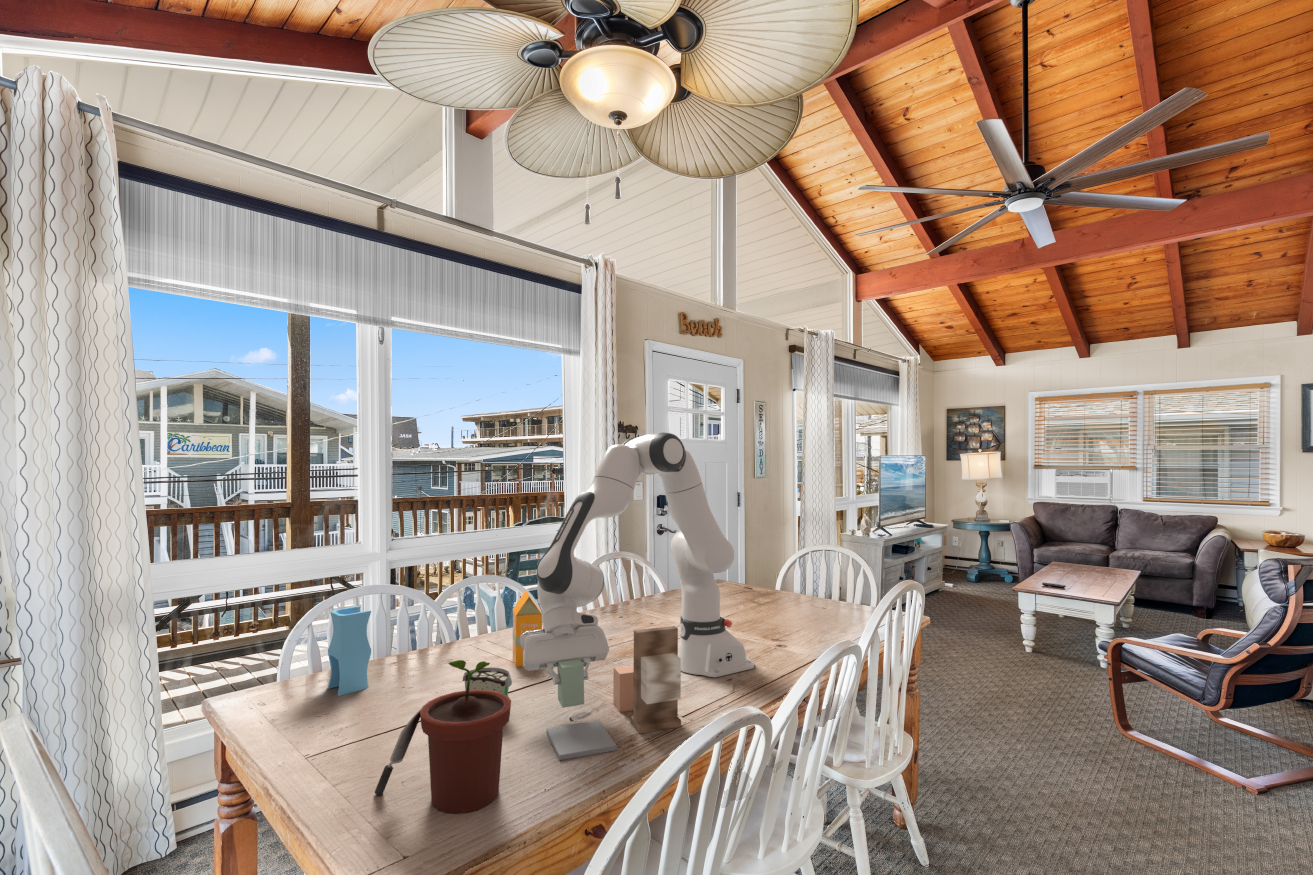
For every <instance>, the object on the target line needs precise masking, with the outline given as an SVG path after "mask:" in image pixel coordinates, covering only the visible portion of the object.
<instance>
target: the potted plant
mask: <svg viewBox="0 0 1313 875" xmlns="http://www.w3.org/2000/svg"><path fill="white" fill-rule="evenodd" d="M466 664H467V662H466V660H463V659H459V660H454V661H450V662H448V665H449V666H451V667H454V668H456V669H459V670H461V671H465V672H467V673H468V680H467V688H466V690H465V689H464V690H461V691H454V692H450V693H447V694H444V695H443V694H442V695H440V696H438V697H435V698H433V699H431V700H429V701H428V702H427V703H425V704H424V705H423V706H421V708H420V709H419V710H418V711H417V712H416V713H415V714H414V715H413V716H412V717H411V719H410V720H409V721H408V723H407V724H406V725H405V726H404V728H403V729H402V730H401V731H400V734H399V737H398V738H397V741H396V744H395V746H394V748H393V751H392V753H391V756H390V758H389V761H390V762H389V764H387V765H385V766H384V768H383V770H382V773H381V775H380V778H379V780H378V782H377V785H376V787H375V790H374V794H375V795H376V796H382V795H383V794H384V792H385V790H386V787H387V785H388V782H389V779H390V778H391V775H392V772H393V770H394V766H393V765H395V764H400V763H402V761H403V760H404V759H405V755H406V753H407V751H408V749H409V747H410V744H411V741H412V739H413V736H414V733H415V731H416V729H417V726H418V724H419V721H420V725H421V730H422V732H423V733H424V734H425V735H427V740H428V741H427V743H428V758H429V759H428V760H429V779H430V781H429V782H430V796H431V804H432V807H433V808H435V809H436V810H437V811H438V812H442V813H444V814H451V815H453V814H454V815H459V814H467V813H468V814H469V813H472V812H475V811H476V812H477V811H479V810H481V809H483V808H486V807H488V806H489V805H490V804H492V803H493V802H494V801H495V800H496V799H497V798H498V796H499V790H500V776H501V766H502V765H501V764H502V751H503V736H504V727H505V726H506V725H507V724H508V723H509V722H510V715H511V708H512V707H511V706H512V699H511V698H510V697H509V695H508V696H507V695H505V694H503V693H500V692H496V691H491V690H469V686H470V677H471V676H472V675H473V673H475V672H477V671H479V670H481V669H482V668H487V667H488V666H489V665H490V664H491V663H490V662H487V661H485V660H484V661H479V662H478V663H477V664H476V666H475V668H474V669H475V670H474V669H473V670H474V671H473V672H472V673H470V669H468V668H465V667H466Z"/></svg>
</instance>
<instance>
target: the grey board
mask: <svg viewBox="0 0 1313 875" xmlns="http://www.w3.org/2000/svg"><path fill="white" fill-rule="evenodd" d="M546 735H547V738H548V739H549V742H550V744H551V746H552V748H553V750H554V752H555V754H556V756H557V758H558V760H559V761H563V760H570V759H576V758H580V757H586V756H591V755H597V754H603V753H608V752H609V753H610V752H613V751H617V744H616V742H615V741H614V740H613V739H612V737H611V735H610V733H609V732H608V731H607V730H606V728H605V726H604V725H603V724H602V723H601V720H599V719H598V720H590V721H586V722H585V721H584V722H580V723H574V724H566V725H560V726H554V727H547V728H546Z"/></svg>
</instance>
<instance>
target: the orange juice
mask: <svg viewBox="0 0 1313 875" xmlns="http://www.w3.org/2000/svg"><path fill="white" fill-rule="evenodd" d="M541 629H543V625H542V610H541V609H540V608H539V606H538V605H537V604H536V602H534V600H533V599H532V597H531V596H530V594H529V592H528V591H527V590H524V592H523V594H522V595H521V597H520V598H519V600H518V601H517V602H516V604H515V606H514V607H513V608H512V660H513V663H514V667H515V668H517V667H518V668H519V667H524V666H523V649H522V648H521V646H520V636H521V635H522V634H524V633H525V632H526V631H535V630H541ZM524 636H525V635H524Z"/></svg>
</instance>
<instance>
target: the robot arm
mask: <svg viewBox="0 0 1313 875" xmlns="http://www.w3.org/2000/svg"><path fill="white" fill-rule="evenodd" d="M598 464H599V465H598V466H597V469H596V471H595V473H594V476H593V479H592V482H591V483H590V485H589V487H588V488H587V490H586V491H583V492H581V493H579V494H578V495H577V497H575V499H574V501H573V502H572V504H571V505H570V507H569V509H568V511H567V512H566V515H565V517H564V519H563V520H562V522H561V524H560V527H559V528H558V530H557V533H556V534H555V536H554V538H553V539H552V542H551V544H550V546H549V547H548V548H547V550H546V552H545V553H544V554H543V555H542V557H541V558H540V560H539V561H538V564H537V567H536V579H537V586H536V587H537V589H536V590H537V597H538V598H537V599H538V605H539V607H540V608H539V609H540V611H541V613H542V629H541V630H535V631H526V632H525V633H524V634H522V635H521V636H520V646H521V648H522V649H523V666H522V667H523V668H524V669H525V670H526V671H527V672H529V671H531V672H532V671H536V670H544V669H545V671H546V674H548V675H549V677H550V678H551V679H552V682H553V685H554V686H558V684H560V683H561V678H560V674H558V673H556V672H555V671H554V668H558V665H557V662H558V661H565V660H572V659H580V661H581V662H582V663H583V664H584V681H587V680H589V673H588V670H589V667H590V664H591V663H592V662H599V661H605V660H606V659H607V657H608V656H609V653H610V647H609V643H608V639H607V637H606V634H605V631H604V630H603V629H602V628H601V627H600V626H598V625H599V618H598V617H597V616H596V615H593V614H585V613H581V612H578V611H577V610H578V608H581V607H583V606H586V605H589V604H590V603H592V602H594V601H595V600H597V599H598V598H599V597H600V595H601V594H602V593H603V590H604V588H605V575H604V571H603V570H602V569H601V568H600V567H598V566H597V565H594V564H592V563H590V562H589V561H586V560H582V559H581V558H578V557H576V556H575V553H574V552H575V549H576V547H577V545H578V543H579V541H580V539H581V537H582V536H583V533H584V531H585V529H586V527H587V525H588V524H589V523H590V522H591V521H593V520H594V519H599V518H601V519H602V518H603V519H604V518H605V519H607V518H614V517H617V516H619V515H621V514H622V513H624V512H625V511H626V510H627V508H628V507H629V505H630V503H631V501H632V497H633V493H634V490H635V487H636V483H637V479H638V477H639V476H640V475H645V476H646V475H649V476H651V475H656V474H658V476H659V477H660V478H661V483H662V486H663V491H664V494H665V498H666V502H667V504H668V507H669V511H670V515H671V518H672V520H673V522H675V524H676V525H677V527H678V528H679V531H678V532H676V533H675V534H674V535H673V536H672V538H671V541H670V551H671V554H672V556H673V557H674V560H675V563H676V567H677V568H676V569H677V572H678V573H677V574H678V577H679V582H680V587H681V588H680V590H681V616H680V618H679V619H680V622H679V623H680V624H679V632H680V633H679V636H680V645H679V650H678V657H680V658H681V672H682V673H687V674H690V675H696V676H697V675H698V676H699V675H700V676H705V677H709V678H718V677H722V676H726V675H731V674H735V673H739V672H744V671H748V670H753V669H755V663H754V662H753V660H752V659H751V658H750V657H748V656H747V654H746V649H745V645H744V644H743V643H742V642H741V640H739V638H737V637H736V636H735V635H733V634H732V633H731V632H730V631H729V630H727V629H726V627H727V628H732V626H733V622H732V620H730V619H727V618H726V619H725V618H724V617H722V616H721V591H720V588H719V585H718V583H717V582H716V579H715V576H714V574H719V573H723V572H724V573H725V572H727V571H728V569H730V568H731V566H732V564H733V562H734V559H735V549H734V548H733V547H734V546H733V545H732V543H731V542H730V541H729V540H728V539H727V538H726V537H725V535H724V534H723V532H722V530H721V528H720V526H719V525H718V522H717V520H716V519H715V517H714V514H713V512H712V510H711V508H710V506H709V502H708V498H707V496H706V492H705V487H704V484H703V482H702V478H701V475H700V471H699V469H698V467H697V464H696V462H695V460H694V458H693V456H692V454H691V453H690V452H689V451H688V450H686V448H685V446H684V443H683V442H682V440H681V438H680V437H678V436H677V435H675V434H673V433H670V432H660V433H647V434H644V435H641V436H637V437H631V438H629V439H627V440H625V441H624V442H623V443H622V444H621V443H616V444H612V445H610V446H609V447H608V448H607V450H606V451H605V453H604V455H603V456H602V458H601V460H600V462H599V463H598ZM524 635H525V636H524Z"/></svg>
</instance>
